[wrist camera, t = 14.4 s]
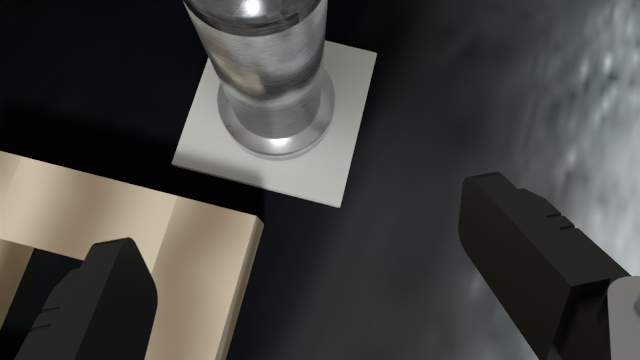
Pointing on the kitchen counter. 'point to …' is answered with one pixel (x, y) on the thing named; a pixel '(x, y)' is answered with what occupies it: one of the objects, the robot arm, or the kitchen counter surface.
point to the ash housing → (151, 239)
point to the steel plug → (269, 72)
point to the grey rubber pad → (290, 175)
